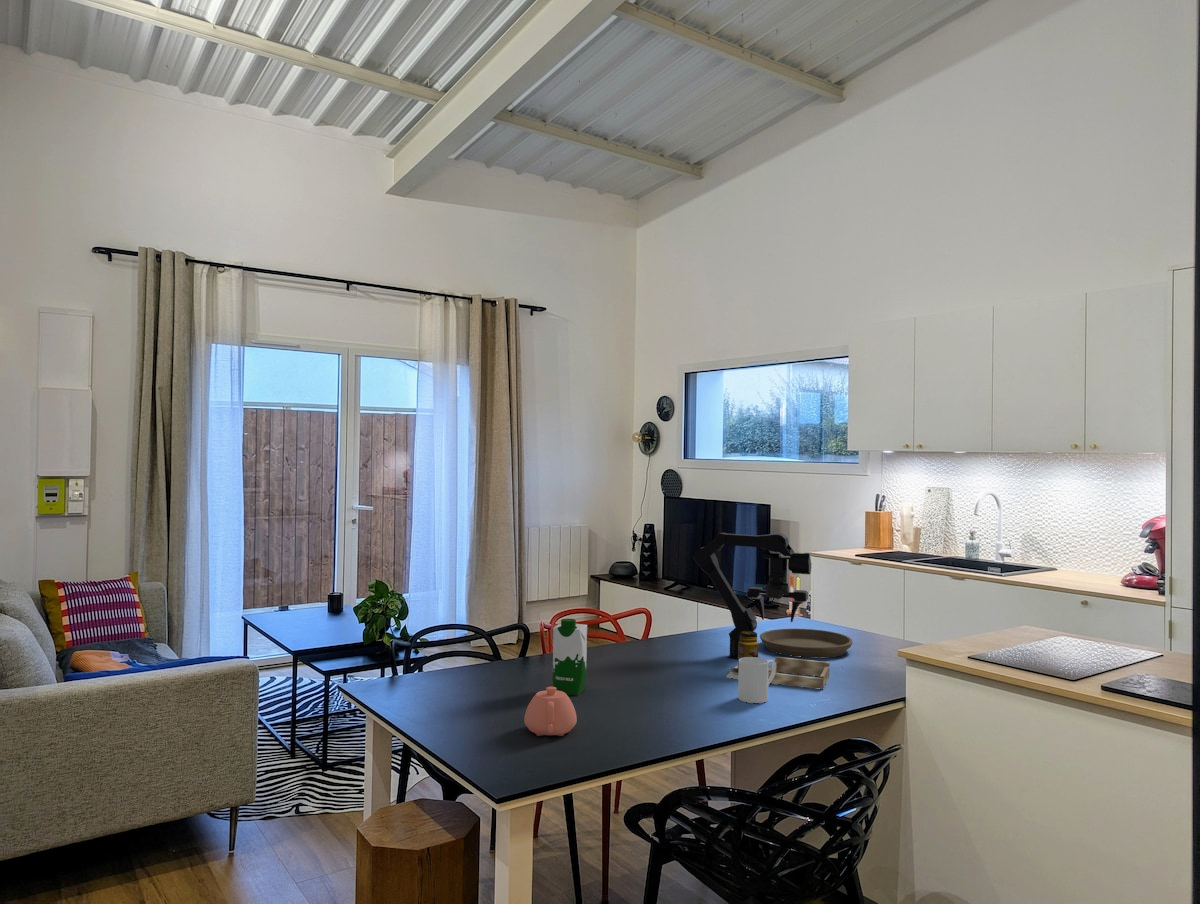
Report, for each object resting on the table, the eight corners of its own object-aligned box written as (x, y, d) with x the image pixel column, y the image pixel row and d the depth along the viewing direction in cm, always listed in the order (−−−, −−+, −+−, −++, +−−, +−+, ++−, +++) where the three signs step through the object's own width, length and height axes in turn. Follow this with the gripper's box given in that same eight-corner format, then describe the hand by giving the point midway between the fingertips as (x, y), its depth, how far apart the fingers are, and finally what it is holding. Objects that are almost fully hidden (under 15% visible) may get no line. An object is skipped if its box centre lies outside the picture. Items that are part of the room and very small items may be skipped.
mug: (753, 705, 214) (753, 665, 214) (732, 698, 220) (732, 659, 220) (785, 698, 221) (785, 659, 221) (763, 691, 227) (764, 654, 227)
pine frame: (766, 683, 236) (766, 667, 236) (775, 671, 250) (775, 656, 250) (823, 689, 230) (823, 673, 230) (829, 677, 244) (829, 662, 244)
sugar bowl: (576, 723, 197) (577, 680, 197) (576, 743, 183) (577, 697, 183) (525, 722, 196) (526, 680, 197) (522, 742, 182) (522, 696, 183)
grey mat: (726, 677, 241) (726, 675, 241) (736, 667, 254) (736, 665, 254) (759, 681, 237) (759, 679, 237) (768, 670, 250) (768, 668, 250)
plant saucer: (755, 655, 271) (755, 642, 271) (764, 637, 301) (764, 625, 301) (852, 664, 262) (852, 649, 262) (852, 644, 291) (852, 631, 292)
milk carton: (549, 694, 221) (550, 620, 221) (559, 685, 230) (560, 614, 230) (579, 697, 218) (581, 622, 219) (589, 688, 227) (590, 616, 227)
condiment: (762, 675, 243) (762, 634, 243) (734, 675, 242) (735, 634, 242) (754, 668, 250) (755, 629, 250) (727, 669, 249) (728, 629, 249)
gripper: (744, 573, 260) (743, 622, 259) (803, 577, 253) (802, 627, 252) (751, 569, 270) (750, 616, 270) (808, 573, 263) (808, 621, 263)
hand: (777, 620), depth 263 cm, fingers open, 9 cm apart
